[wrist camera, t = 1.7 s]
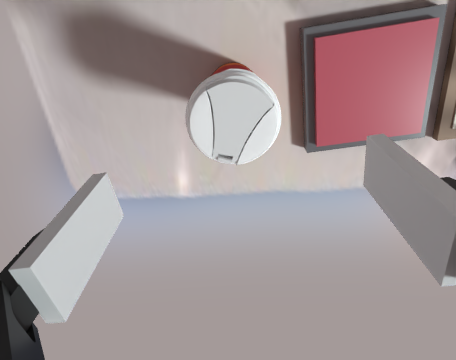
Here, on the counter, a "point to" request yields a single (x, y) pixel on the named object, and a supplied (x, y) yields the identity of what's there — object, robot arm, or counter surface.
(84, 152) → the counter surface
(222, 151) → the paper cup
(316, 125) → the ink pad
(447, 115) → the marked board
